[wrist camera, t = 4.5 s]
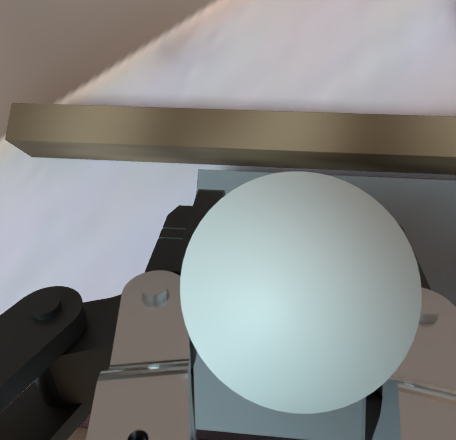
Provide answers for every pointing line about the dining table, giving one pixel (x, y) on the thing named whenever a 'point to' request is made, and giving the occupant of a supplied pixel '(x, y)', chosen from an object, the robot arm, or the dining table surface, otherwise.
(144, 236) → the dining table surface
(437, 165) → the guide rails
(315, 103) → the dining table surface
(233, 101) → the dining table surface
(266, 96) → the dining table surface
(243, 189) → the grey tray with post
